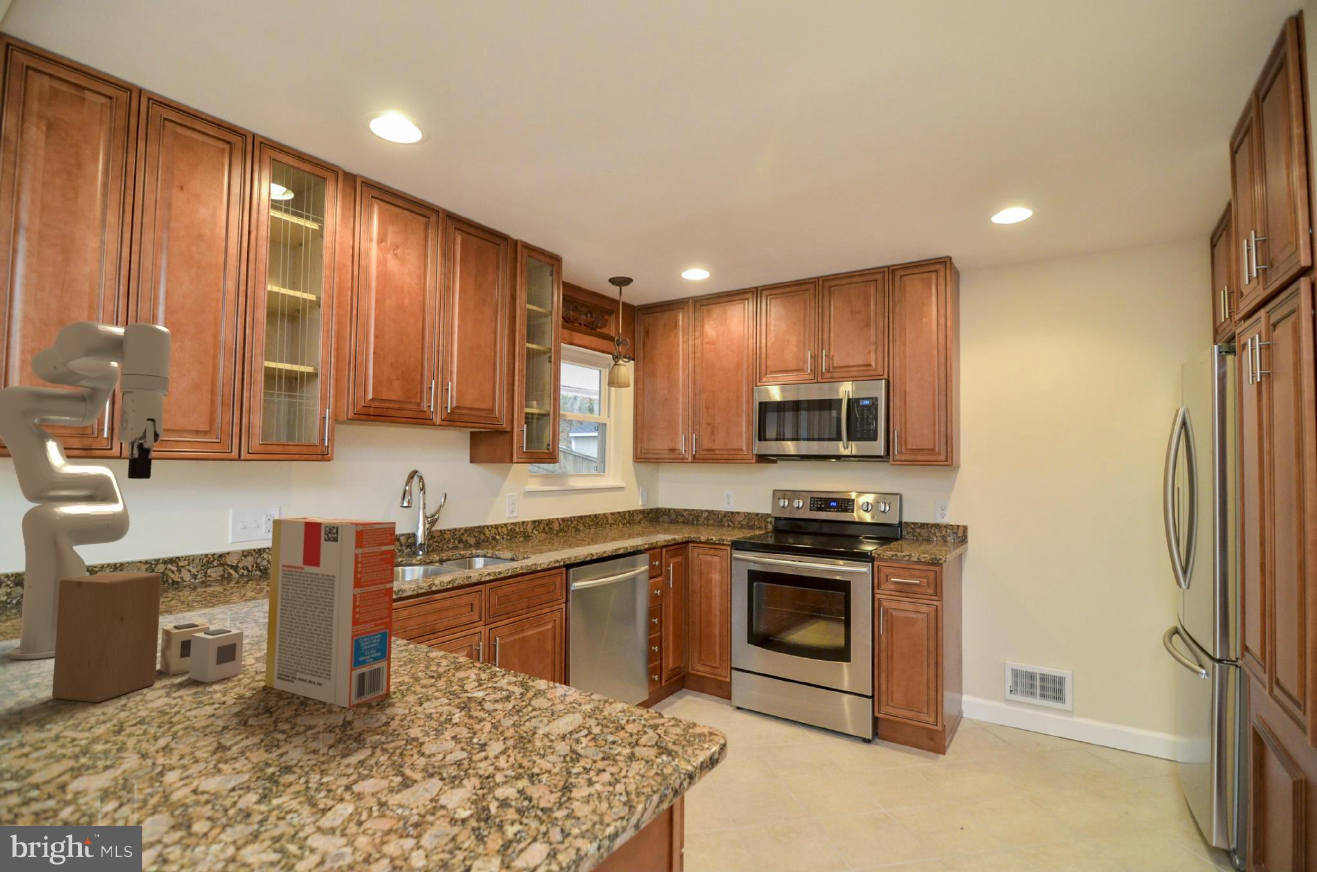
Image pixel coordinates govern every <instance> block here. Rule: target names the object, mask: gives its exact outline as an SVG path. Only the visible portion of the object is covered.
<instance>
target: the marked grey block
mask: <svg viewBox="0 0 1317 872" xmlns="http://www.w3.org/2000/svg"><path fill="white" fill-rule="evenodd" d="M243 644H244V631H243V630H239V629H233V628H228V627H221V628H218V629H211V630H209V631H207V632H202V633H197V634H192V635H191V650H190V668H189V671H188V673H189V674H188V678H189V679H192V680H196V681H200V682H203V683H207V684H208V683H211V682H215V681H220V680H223V679H227V678H230V677H234V676H238V675H241V674H242V670H243V669H242V668H243V649H244V645H243Z"/></svg>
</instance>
